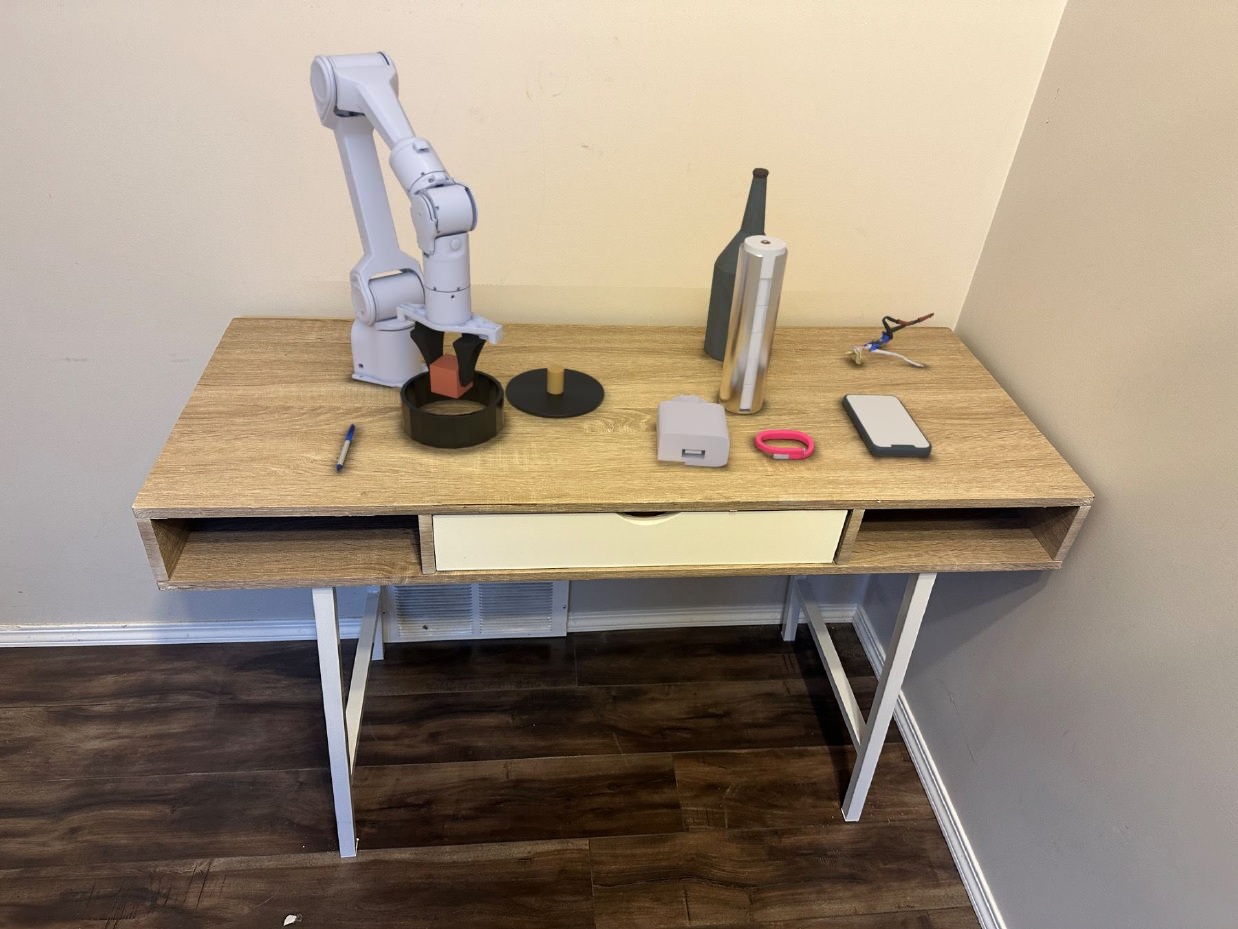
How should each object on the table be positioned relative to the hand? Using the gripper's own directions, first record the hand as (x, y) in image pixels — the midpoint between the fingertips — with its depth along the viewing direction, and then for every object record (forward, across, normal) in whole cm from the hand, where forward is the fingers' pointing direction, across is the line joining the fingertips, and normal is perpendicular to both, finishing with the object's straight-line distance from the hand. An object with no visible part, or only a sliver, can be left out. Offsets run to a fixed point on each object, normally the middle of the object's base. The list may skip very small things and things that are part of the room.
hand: (451, 379), depth 120 cm
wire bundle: (+7, -50, -52) cm, 73 cm away
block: (+1, 0, 0) cm, 1 cm away
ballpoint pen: (+7, +9, +12) cm, 17 cm away
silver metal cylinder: (+7, -34, -25) cm, 43 cm away
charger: (+7, -30, -13) cm, 33 cm away
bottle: (+7, -28, -41) cm, 50 cm away
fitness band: (+7, -43, -16) cm, 46 cm away
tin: (+7, 0, 0) cm, 7 cm away
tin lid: (+6, -9, -14) cm, 18 cm away
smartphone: (+7, -54, -28) cm, 62 cm away
